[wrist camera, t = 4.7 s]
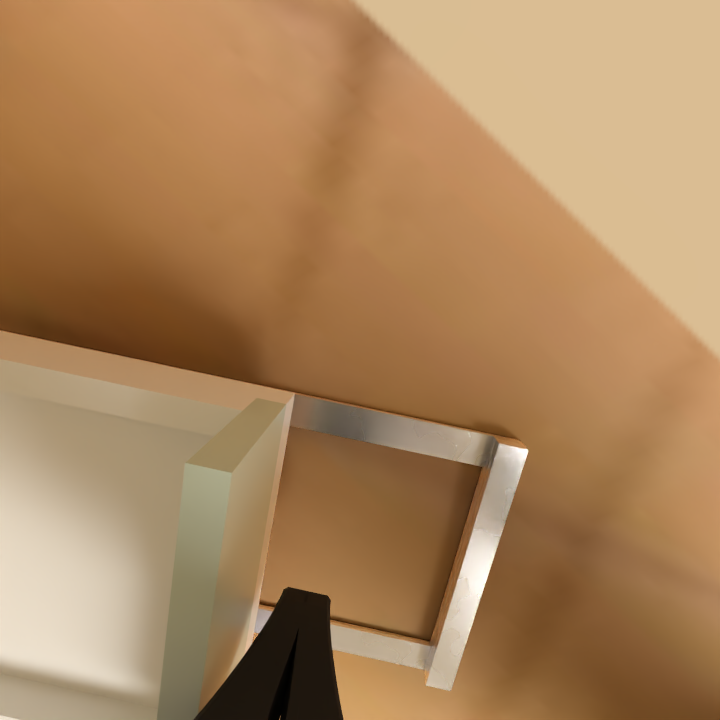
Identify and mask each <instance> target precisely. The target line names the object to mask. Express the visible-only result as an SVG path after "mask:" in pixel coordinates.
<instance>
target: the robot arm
mask: <svg viewBox="0 0 720 720" xmlns="http://www.w3.org/2000/svg"><path fill="white" fill-rule="evenodd" d="M330 602H331V600H330V598H329V597H328V596H326V595H322V594H317V593H313V592H308V591H304V590H300V589H295V588H291V587H288V588H286V589H284V590H283V593H282V595H281V597H280V599H279V601H278V603H277V605H276V607H275V608H274V610H273V612H272V614H271V615H270V617H269V619H268V620H267V622H266V623H265V625H264V627H263V628H262V630H261V631H260V633H259V634H258V636H257V637H256V639H255V640H254V642H253V643H252V645H251V646H250V648H249V649H248V650H247V652H246V653H245V655H244V656H243V658H242V659H241V660H240V662H239V663H238V664H237V666H236V667H235V668H234V670H233V671H232V672H231V674H230V675H229V676H228V678H227V679H226V680H225V682H224V683H223V684H222V685H221V687H220V688H219V689H218V691H217V692H216V693H215V694H214V696H213V697H212V698H211V699H210V700H209V702H208V703H207V704H206V705H205V707H204V708H203V709H202V710H201V711H200V713H199V714H198V715H197V716H196V717H195V718H194V720H279V719H280V720H343V715H342V710H341V705H340V700H339V694H338V688H337V682H336V675H335V667H334V660H333V652H332V642H331V630H330ZM280 715H281V717H280Z"/></svg>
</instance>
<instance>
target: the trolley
mask: <svg viewBox="0 0 720 720" xmlns="http://www.w3.org/2000/svg"><path fill="white" fill-rule="evenodd" d="M294 397H295V393H292V392H287V391H283V390H278V389H273V388H269V387H264V386H259V385H254V384H250V383H245V382H240V381H236V380H231V379H226V378H221V377H217V376H212V375H207V374H202V373H198V372H193V371H188V370H184V369H179V368H174V367H169V366H165V365H160V364H155V363H151V362H146V361H141V360H136V359H132V358H127V357H122V356H118V355H113V354H108V353H103V352H99V351H94V350H89V349H84V348H80V347H75V346H70V345H66V344H61V343H56V342H51V341H47V340H42V339H37V338H33V337H28V336H23V335H18V334H14V333H9V332H4V331H0V720H194V718H195V717H196V716H197V715H198V714H199V713H200V711H201V710H202V709H203V708H204V707H205V705H206V704H207V703H208V702H209V700H210V699H211V698H212V697H213V696H214V694H215V693H216V692H217V691H218V689H219V688H220V687H221V685H222V684H223V683H224V682H225V680H226V679H227V678H228V676H229V675H230V674H231V672H232V671H233V670H234V668H235V667H236V666H237V664H238V663H239V662H240V660H241V659H242V658H243V656H244V655H245V653H246V652H247V650H248V649H249V648H250V646H251V645H252V641H253V635H254V629H255V623H256V618H257V612H258V606H259V600H260V594H261V589H262V583H263V577H264V571H265V565H266V559H267V554H268V548H269V542H270V536H271V530H272V525H273V519H274V513H275V507H276V501H277V496H278V490H279V484H280V478H281V472H282V467H283V461H284V455H285V449H286V443H287V438H288V432H289V426H290V420H291V414H292V408H293V403H294Z"/></svg>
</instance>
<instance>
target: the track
mask: <svg viewBox="0 0 720 720" xmlns="http://www.w3.org/2000/svg"><path fill="white" fill-rule="evenodd" d="M0 331H3V330H0ZM4 332H8V331H4ZM9 333H13V332H9ZM14 334H18V333H14ZM18 335H22V334H18ZM23 336H27V335H23ZM28 337H32V336H28ZM33 338H36V337H33ZM37 339H41V338H37ZM42 340H46V339H42ZM47 341H51V340H47ZM51 342H55V341H51ZM56 343H60V342H56ZM61 344H65V343H61ZM66 345H69V344H66ZM70 346H74V345H70ZM75 347H79V346H75ZM80 348H84V347H80ZM84 349H88V348H84ZM89 350H93V349H89ZM94 351H98V350H94ZM99 352H103V351H99ZM103 353H107V352H103ZM108 354H112V353H108ZM113 355H117V354H113ZM118 356H121V355H118ZM122 357H126V356H122ZM127 358H131V357H127ZM132 359H136V358H132ZM136 360H140V359H136ZM141 361H145V360H141ZM146 362H150V361H146ZM151 363H154V362H151ZM155 364H159V363H155ZM160 365H164V364H160ZM165 366H169V365H165ZM169 367H173V366H169ZM174 368H178V367H174ZM179 369H183V368H179ZM184 370H187V369H184ZM188 371H192V370H188ZM193 372H197V371H193ZM198 373H202V372H198ZM202 374H206V373H202ZM207 375H211V374H207ZM212 376H216V375H212ZM217 377H221V376H217ZM221 378H225V377H221ZM226 379H230V378H226ZM231 380H235V379H231ZM236 381H239V380H236ZM240 382H244V381H240ZM245 383H249V382H245ZM250 384H254V383H250ZM254 385H258V384H254ZM259 386H263V385H259ZM264 387H268V386H264ZM269 388H272V387H269ZM273 389H277V388H273ZM278 390H282V389H278ZM283 391H287V390H283ZM287 392H291V391H287ZM292 393H295V397H294V403H293V408H292V414H291V420H290V426H294V427H298V428H303V429H308V430H312V431H317V432H322V433H327V434H331V435H336V436H341V437H345V438H350V439H355V440H359V441H364V442H369V443H373V444H378V445H383V446H388V447H392V448H397V449H402V450H406V451H411V452H416V453H420V454H425V455H430V456H434V457H439V458H444V459H448V460H453V461H458V462H463V463H467V464H472V465H477V466H481V467H482V470H481V473H480V476H479V480H478V483H477V486H476V490H475V493H474V497H473V500H472V503H471V507H470V510H469V513H468V517H467V520H466V523H465V527H464V530H463V533H462V537H461V540H460V544H459V547H458V550H457V554H456V557H455V560H454V564H453V567H452V570H451V574H450V577H449V580H448V584H447V587H446V591H445V594H444V597H443V601H442V604H441V607H440V611H439V614H438V617H437V621H436V624H435V627H434V631H433V634H432V638H431V641H425V640H421V639H416V638H412V637H407V636H403V635H398V634H393V633H389V632H384V631H380V630H375V629H371V628H366V627H362V626H357V625H353V624H348V623H344V622H339V621H334V620H330V630H331V642H332V650H337V651H341V652H346V653H350V654H355V655H359V656H364V657H368V658H373V659H377V660H382V661H386V662H391V663H395V664H400V665H404V666H409V667H414V668H418V669H423V670H424V675H425V684H426V686H430V687H435V688H439V689H444V690H448V691H451V689H452V686H453V683H454V679H455V676H456V673H457V670H458V667H459V664H460V661H461V658H462V655H463V652H464V649H465V645H466V642H467V639H468V636H469V633H470V630H471V627H472V624H473V621H474V618H475V615H476V611H477V608H478V605H479V602H480V599H481V596H482V593H483V590H484V587H485V584H486V581H487V577H488V574H489V571H490V568H491V565H492V562H493V559H494V556H495V553H496V550H497V547H498V543H499V540H500V537H501V534H502V531H503V528H504V525H505V522H506V519H507V516H508V513H509V509H510V506H511V503H512V500H513V497H514V494H515V491H516V488H517V485H518V482H519V479H520V475H521V472H522V469H523V466H524V463H525V460H526V457H527V454H528V451H529V450H528V448H527V447H526V446H525V445H524V444H523V443H522V442H521V441H520V440H518V439H513V438H508V437H504V436H499V435H494V434H490V433H485V432H480V431H475V430H471V429H466V428H461V427H457V426H452V425H447V424H442V423H438V422H433V421H428V420H423V419H419V418H414V417H409V416H405V415H400V414H395V413H390V412H386V411H381V410H376V409H372V408H367V407H362V406H357V405H353V404H348V403H343V402H339V401H334V400H329V399H324V398H320V397H315V396H310V395H305V394H301V393H296V392H292ZM274 608H275V607H271V606H266V605H262V604H259V606H258V612H257V618H256V623H255V629H254V632H255V633H260V631H261V630H262V628H263V627H264V625H265V623H266V622H267V620H268V619H269V617H270V615H271V614H272V612H273V610H274Z"/></svg>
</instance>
